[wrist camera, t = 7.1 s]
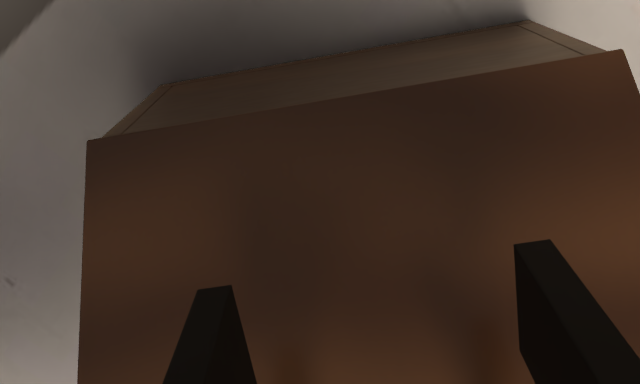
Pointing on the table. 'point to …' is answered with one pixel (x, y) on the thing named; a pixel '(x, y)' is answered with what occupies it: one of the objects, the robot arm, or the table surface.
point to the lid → (366, 226)
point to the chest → (351, 74)
